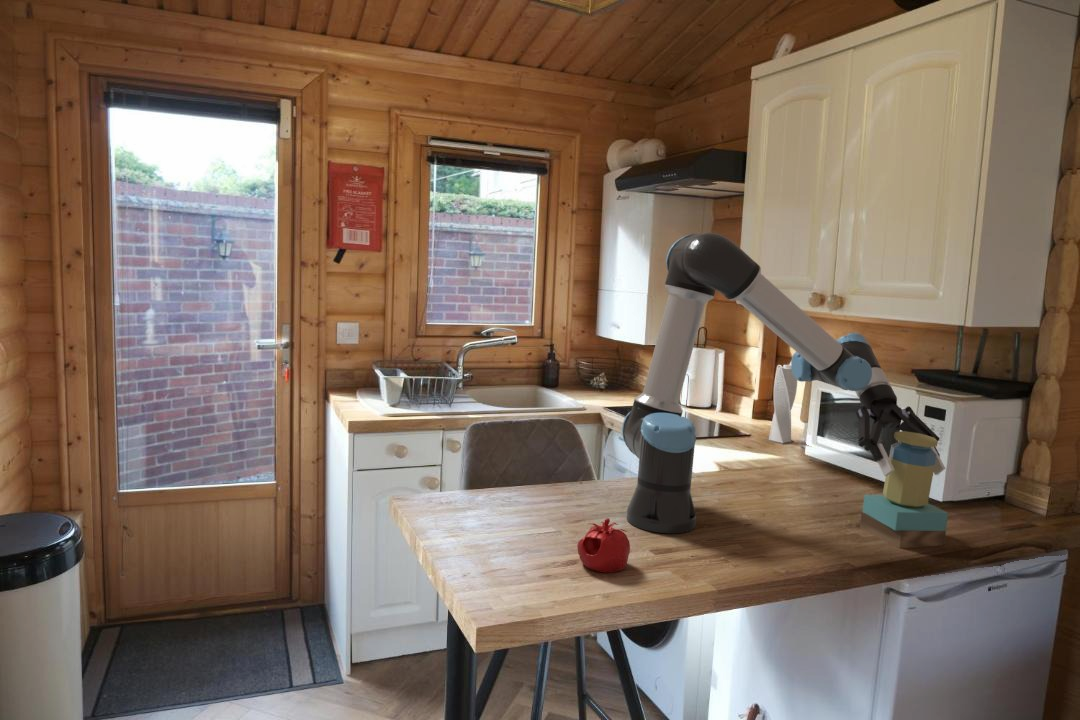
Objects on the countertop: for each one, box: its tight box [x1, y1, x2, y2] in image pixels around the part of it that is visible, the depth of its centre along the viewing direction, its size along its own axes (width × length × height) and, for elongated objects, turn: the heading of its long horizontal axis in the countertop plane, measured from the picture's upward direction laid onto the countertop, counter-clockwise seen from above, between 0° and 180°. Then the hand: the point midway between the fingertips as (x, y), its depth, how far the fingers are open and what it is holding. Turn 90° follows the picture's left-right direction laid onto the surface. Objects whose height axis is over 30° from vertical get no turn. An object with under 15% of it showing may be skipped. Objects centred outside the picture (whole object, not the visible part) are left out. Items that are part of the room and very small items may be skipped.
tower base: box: [859, 512, 947, 549], centre depth 167 cm, size 12×12×4 cm
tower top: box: [862, 494, 949, 532], centre depth 166 cm, size 12×12×4 cm
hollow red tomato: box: [577, 517, 631, 574], centre depth 140 cm, size 10×10×9 cm
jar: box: [882, 430, 939, 508], centre depth 165 cm, size 9×9×15 cm
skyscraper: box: [764, 364, 798, 445], centre depth 255 cm, size 8×8×28 cm
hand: (915, 472), depth 163 cm, fingers open, 13 cm apart
